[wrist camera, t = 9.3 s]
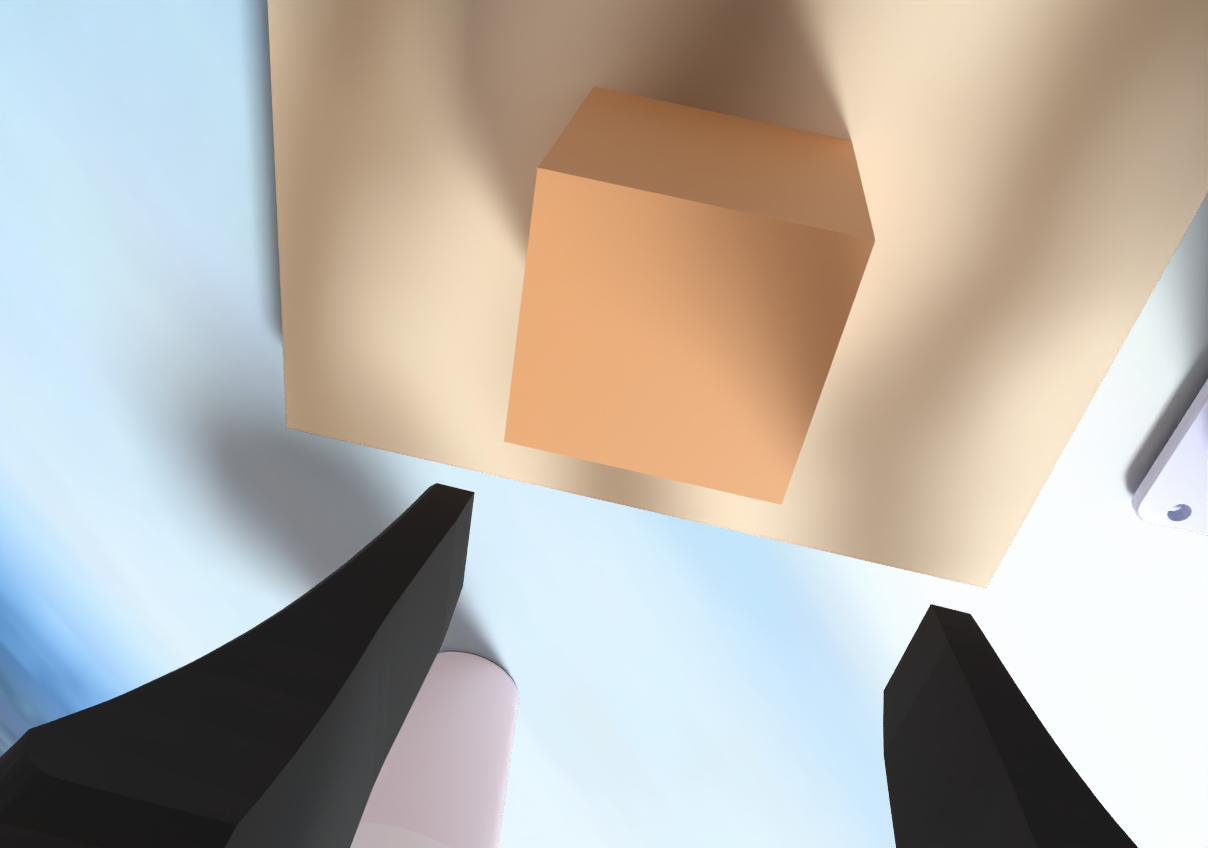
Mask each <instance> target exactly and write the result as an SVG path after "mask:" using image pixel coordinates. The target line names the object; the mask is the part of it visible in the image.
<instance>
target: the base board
mask: <svg viewBox="0 0 1208 848" xmlns="http://www.w3.org/2000/svg"><path fill="white" fill-rule="evenodd" d="M267 1H268V23H269V45H270V68H271V90H272V112H273V135H274V157H275V179H276V201H277V224H278V246H279V268H280V291H281V313H282V335H283V357H284V380H285V402H286V424H287V428H290V429H295V430H299V431H303V432H308V433H312V434H316V435H321V436H325V437H329V438H334V439H338V440H343V441H347V442H351V443H356V444H360V445H364V446H369V447H373V448H377V449H382V450H386V451H390V452H395V453H399V454H404V455H408V456H412V457H417V458H421V459H425V460H430V461H434V462H438V463H443V464H447V465H451V466H456V467H460V468H465V469H469V470H473V471H478V472H482V473H486V474H491V475H495V476H499V477H504V478H508V479H512V480H517V481H521V482H525V483H530V484H534V485H539V486H543V487H547V488H552V489H556V490H560V491H565V492H569V493H573V494H578V495H582V496H586V497H591V498H595V499H600V500H604V501H608V502H613V503H617V504H621V505H626V506H630V507H634V508H639V509H643V510H647V511H652V512H656V513H661V514H665V515H669V516H674V517H678V518H682V519H687V520H691V521H695V522H700V523H704V524H708V525H713V526H717V527H722V528H726V529H730V530H735V531H739V532H743V533H748V534H752V535H756V536H761V537H765V538H769V539H774V540H778V541H782V542H787V543H791V544H796V545H800V546H804V547H809V548H813V549H817V550H822V551H826V552H830V553H835V554H839V555H843V556H848V557H852V558H857V559H861V560H865V561H870V562H874V563H878V564H883V565H887V566H891V567H896V568H900V569H904V570H909V571H913V572H918V573H922V574H926V575H931V576H935V577H939V578H944V579H948V580H952V581H957V582H961V583H965V584H970V585H974V586H979V587H983V588H987V586H988V584H989V582H990V581H991V579H992V577H993V575H994V573H995V572H996V570H997V568H998V566H999V564H1000V563H1001V561H1002V559H1003V557H1004V556H1005V554H1006V552H1007V550H1008V548H1009V547H1010V545H1011V543H1012V541H1013V539H1014V538H1015V536H1016V534H1017V532H1018V531H1019V529H1020V527H1021V525H1022V523H1023V522H1024V520H1025V518H1026V516H1027V514H1028V513H1029V511H1030V509H1031V507H1032V506H1033V504H1034V502H1035V500H1036V498H1037V497H1038V495H1039V493H1040V491H1041V489H1042V488H1043V486H1044V484H1045V482H1046V481H1047V479H1048V477H1049V475H1050V473H1051V472H1052V470H1053V468H1054V466H1055V465H1056V463H1057V461H1058V459H1059V457H1060V456H1061V454H1062V452H1063V450H1064V448H1065V447H1066V445H1067V443H1068V441H1069V440H1070V438H1071V436H1072V434H1073V432H1074V431H1075V429H1076V427H1077V425H1078V423H1079V422H1080V420H1081V418H1082V416H1083V415H1084V413H1085V411H1086V409H1087V407H1088V406H1089V404H1090V402H1091V400H1092V398H1093V397H1094V395H1095V393H1096V391H1097V390H1098V388H1099V386H1100V384H1101V382H1102V381H1103V379H1104V377H1105V375H1106V373H1107V372H1108V370H1109V368H1110V366H1111V365H1112V363H1113V361H1114V359H1115V357H1116V356H1117V354H1118V352H1119V350H1120V348H1121V347H1122V345H1123V343H1124V341H1125V340H1126V338H1127V336H1128V334H1129V332H1130V331H1131V329H1132V327H1133V325H1134V323H1135V322H1136V320H1137V318H1138V316H1139V315H1140V313H1141V311H1142V309H1143V307H1144V306H1145V304H1146V302H1147V300H1148V298H1149V297H1150V295H1151V293H1152V291H1153V290H1154V288H1155V286H1156V284H1157V282H1158V281H1159V279H1160V277H1161V275H1162V274H1163V272H1164V270H1165V268H1166V266H1167V265H1168V263H1169V261H1170V259H1171V257H1172V256H1173V254H1174V252H1175V250H1176V249H1177V247H1178V245H1179V243H1180V241H1181V240H1182V238H1183V236H1184V234H1185V232H1186V231H1187V229H1188V227H1189V225H1190V224H1191V222H1192V220H1193V218H1194V216H1195V215H1196V213H1197V211H1198V209H1199V207H1200V206H1201V204H1202V202H1203V200H1204V199H1205V197H1206V195H1207V193H1208V0H267ZM593 87H599V88H604V89H609V90H613V91H618V92H623V93H627V94H632V95H637V96H642V97H646V98H651V99H656V100H661V101H665V102H670V103H675V104H680V105H684V106H689V107H694V108H699V109H703V110H708V111H713V112H717V113H722V114H727V115H732V116H736V117H741V118H746V119H751V120H755V121H760V122H765V123H770V124H774V125H779V126H784V127H789V128H793V129H798V130H803V131H808V132H812V133H817V134H822V135H826V136H831V137H836V138H841V139H845V140H850V141H852V144H853V148H854V152H855V156H856V161H857V165H858V169H859V173H860V177H861V182H862V186H863V190H864V194H865V198H866V203H867V207H868V211H869V215H870V219H871V224H872V228H873V232H874V236H875V243H874V246H873V249H872V252H871V254H870V257H869V260H868V263H867V266H866V269H865V271H864V274H863V277H862V280H861V283H860V285H859V288H858V291H857V294H856V297H855V300H854V302H853V305H852V308H851V311H850V314H849V316H848V319H847V322H846V325H845V328H844V330H843V333H842V336H841V339H840V342H839V345H838V347H837V350H836V353H835V356H834V359H833V361H832V364H831V367H830V370H829V373H828V376H827V378H826V381H825V384H824V387H823V390H822V392H821V395H820V398H819V401H818V404H817V406H816V409H815V412H814V415H813V418H812V421H811V423H810V426H809V429H808V432H807V435H806V437H805V440H804V443H803V446H802V449H801V451H800V454H799V457H798V460H797V463H796V466H795V468H794V471H793V474H792V477H791V480H790V482H789V485H788V488H787V491H786V494H785V497H784V499H783V502H782V505H780V504H776V503H771V502H767V501H762V500H758V499H754V498H749V497H745V496H740V495H736V494H732V493H727V492H723V491H719V490H714V489H710V488H705V487H701V486H697V485H692V484H688V483H683V482H679V481H675V480H670V479H666V478H661V477H657V476H653V475H648V474H644V473H640V472H635V471H631V470H626V469H622V468H618V467H613V466H609V465H604V464H600V463H596V462H591V461H587V460H582V459H578V458H574V457H569V456H565V455H561V454H556V453H552V452H547V451H543V450H539V449H534V448H530V447H525V446H521V445H517V444H512V443H508V442H504V436H505V428H506V420H507V412H508V404H509V396H510V387H511V379H512V371H513V363H514V355H515V347H516V339H517V330H518V322H519V314H520V306H521V298H522V290H523V282H524V273H525V265H526V257H527V249H528V241H529V233H530V225H531V216H532V208H533V200H534V192H535V184H536V176H537V168H538V166H539V165H540V163H541V162H542V160H543V159H544V158H545V156H546V155H547V153H548V152H549V150H550V149H551V148H552V146H553V145H554V143H555V142H556V140H557V139H558V138H559V136H560V135H561V133H562V132H563V130H564V129H565V128H566V126H567V125H568V123H569V122H570V120H571V119H572V117H573V116H574V115H575V113H576V112H577V110H578V109H579V107H580V106H581V105H582V103H583V102H584V100H585V99H586V97H587V96H588V95H589V93H590V92H591V90H592V89H593Z"/></svg>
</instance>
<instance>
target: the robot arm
mask: <svg viewBox="0 0 1208 848" xmlns="http://www.w3.org/2000/svg"><path fill="white" fill-rule="evenodd" d="M473 500H474V492H471V491H467V490H463V489H458V488H454V487H450V486H446V485H442V484H438V483H436V484H434V485H432V486H430V487H429V488H428V489H427V490H426V491H425V492H424V493H423V494H422V495H421V496H420V497H419V498H418V499H417V500H416V501H415V502H414V503H413V504H412V505H411V506H410V507H409V508H408V509H407V510H406V511H405V512H404V513H403V514H402V515H401V516H399V517H398V518H397V519H396V520H395V521H394V522H393V523H392V524H391V525H390V526H389V527H387V528H386V529H385V530H384V531H383V532H382V533H381V534H380V535H379V536H377V537H376V538H375V539H374V540H373V541H371V542H370V543H369V544H368V545H367V546H365V547H364V548H363V549H362V550H361V551H360V552H358V553H357V554H356V555H355V556H354V557H352V558H351V559H350V560H349V561H348V562H346V563H345V564H344V565H343V566H341V567H340V568H339V569H337V570H336V571H335V572H333V573H332V574H331V575H329V576H328V577H327V578H325V579H324V580H323V581H321V582H320V583H319V584H317V585H316V586H315V587H313V588H312V589H311V590H309V591H308V592H307V593H305V594H304V595H303V596H301V597H300V598H298V599H297V600H295V601H294V602H293V603H291V604H290V605H288V606H287V607H285V608H284V609H282V610H281V611H279V612H278V613H276V614H275V615H273V616H271V617H270V618H268V619H267V620H265V621H264V622H262V623H260V624H259V625H257V626H256V627H254V628H252V629H251V630H249V631H247V632H246V633H244V634H242V635H240V636H239V637H237V638H235V639H233V640H232V641H230V642H228V643H226V644H224V645H223V646H221V647H219V648H217V649H216V650H214V651H212V652H210V653H208V654H207V655H205V656H203V657H201V658H199V659H197V660H195V661H193V662H191V663H189V664H187V665H185V666H183V667H181V668H179V669H177V670H175V671H173V672H170V673H168V674H166V675H164V676H162V677H160V678H157V679H155V680H153V681H151V682H149V683H147V684H144V685H142V686H140V687H138V688H136V689H134V690H132V691H129V692H127V693H125V694H122V695H120V696H118V697H115V698H113V699H111V700H108V701H106V702H103V703H100V704H98V705H95V706H92V707H90V708H87V709H84V710H81V711H79V712H76V713H73V714H71V715H68V716H65V717H63V718H60V719H57V720H54V721H52V722H49V723H46V724H43V725H40V726H37V727H34V728H31V729H29V730H28V731H27V732H26V733H25V734H24V735H23V736H22V737H21V738H20V739H19V740H18V741H17V742H16V743H15V744H14V745H13V746H12V747H11V748H10V749H9V750H8V751H6V752H5V753H4V754H3V755H2V756H1V757H0V848H350V847H351V844H352V842H353V839H354V836H355V834H356V831H357V828H358V826H359V823H360V820H361V818H362V815H363V812H364V810H365V807H366V804H367V802H368V799H369V797H370V794H371V791H372V789H373V786H374V784H375V782H376V780H377V777H378V775H379V773H380V771H381V768H382V766H383V764H384V762H385V760H386V758H387V756H388V754H389V751H390V749H391V747H392V745H393V743H394V741H395V739H396V737H397V735H398V733H399V731H400V729H401V727H402V725H403V723H404V721H405V719H406V717H407V715H408V713H409V711H410V709H411V707H412V705H413V703H414V701H415V699H416V697H417V695H418V693H419V691H420V689H421V687H422V684H423V682H424V680H425V678H426V676H427V674H428V672H429V670H430V668H431V666H432V664H433V662H434V660H435V658H436V656H437V654H438V652H439V649H440V647H441V645H442V643H443V641H444V638H445V635H446V632H447V630H448V627H449V624H450V621H451V618H452V616H453V613H454V610H455V607H456V604H457V601H458V598H459V595H460V593H461V590H462V587H463V580H464V572H465V564H466V556H467V548H468V540H469V532H470V524H471V516H472V508H473ZM1178 504H1185V505H1184V506H1183V507H1182V508H1181V509H1179V510H1176V511H1168V510H1169V509H1170V508H1172V507H1173V506H1175V505H1178ZM1132 506H1133V509H1134V511H1135V513H1136V515H1137V516H1138V517H1139V518H1140V519H1141V520H1143V521H1146V522H1149V523H1153V524H1157V525H1162V526H1166V527H1171V528H1175V529H1180V530H1184V531H1189V532H1193V533H1197V534H1202V535H1206V536H1208V379H1207V381H1206V382H1205V384H1204V385H1203V387H1202V388H1201V390H1200V392H1199V393H1198V395H1197V396H1196V398H1195V399H1194V401H1193V403H1192V404H1191V406H1190V407H1189V409H1188V410H1187V412H1186V414H1185V415H1184V417H1183V418H1182V420H1181V421H1180V423H1179V425H1178V426H1177V428H1176V429H1175V431H1174V432H1173V434H1172V436H1171V437H1170V439H1169V440H1168V442H1167V443H1166V445H1165V447H1164V448H1163V450H1162V451H1161V453H1160V454H1159V456H1158V458H1157V459H1156V461H1155V462H1154V464H1153V465H1152V467H1151V469H1150V470H1149V472H1148V473H1147V475H1146V476H1145V478H1144V480H1143V481H1142V483H1141V484H1140V486H1139V487H1138V489H1137V490H1136V492H1135V494H1134V495H1133V498H1132ZM883 738H884V760H885V768H886V776H887V784H888V791H889V799H890V807H891V814H892V821H893V828H894V835H895V843H896V848H1138V847H1137V846H1136V845H1135V843H1134V842H1133V841H1132V840H1131V839H1130V838H1129V837H1128V835H1127V834H1126V833H1125V832H1124V831H1123V830H1122V828H1121V827H1120V826H1119V825H1118V824H1117V823H1116V821H1115V820H1114V819H1113V818H1112V817H1111V815H1110V814H1109V813H1108V812H1107V810H1106V809H1105V808H1104V807H1103V805H1102V804H1101V803H1100V802H1099V800H1098V799H1097V798H1096V797H1095V795H1094V794H1093V793H1092V791H1091V790H1090V789H1089V787H1088V786H1087V785H1086V783H1085V782H1084V781H1083V780H1082V778H1081V777H1080V776H1079V774H1078V773H1077V772H1076V770H1075V769H1074V768H1073V766H1072V765H1071V764H1070V762H1069V761H1068V760H1067V758H1066V757H1065V755H1064V754H1063V753H1062V751H1061V750H1060V748H1059V747H1058V746H1057V744H1056V743H1055V742H1054V740H1053V739H1052V737H1051V736H1050V734H1049V733H1048V732H1047V730H1046V729H1045V727H1044V726H1043V724H1042V723H1041V721H1040V720H1039V718H1038V717H1037V715H1036V714H1035V712H1034V711H1033V710H1032V708H1031V707H1030V705H1029V704H1028V702H1027V700H1026V699H1025V697H1024V696H1023V694H1022V693H1021V691H1020V690H1019V688H1018V687H1017V685H1016V684H1015V682H1014V681H1013V679H1012V678H1011V676H1010V674H1009V673H1008V671H1007V670H1006V668H1005V667H1004V665H1003V664H1002V662H1001V660H1000V659H999V657H998V656H997V654H996V653H995V651H994V649H993V648H992V646H991V645H990V643H989V642H988V640H987V638H986V637H985V635H984V634H983V632H982V631H981V629H980V628H979V626H978V625H977V623H976V622H975V620H974V619H973V617H972V616H971V614H968V613H964V612H960V611H956V610H952V609H948V608H944V607H940V606H936V605H932V604H931V605H930V607H929V609H928V610H927V612H926V614H925V616H924V618H923V620H922V621H921V623H920V625H919V627H918V629H917V631H916V632H915V634H914V636H913V638H912V640H911V642H910V643H909V645H908V647H907V649H906V651H905V653H904V655H903V656H902V658H901V660H900V662H899V664H898V666H897V667H896V669H895V671H894V673H893V675H892V677H891V678H890V680H889V682H888V684H887V686H886V688H885V689H884V710H883Z"/></svg>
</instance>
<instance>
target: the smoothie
mask: <svg viewBox="0 0 1208 848" xmlns="http://www.w3.org/2000/svg"><path fill="white" fill-rule="evenodd" d="M518 705H519V693H518V690H517V687H516V685H515V683H514V682H513V680H512V679H511V677H510V676H509V675H508V674H507V673H506V672H505V671H504V670H503V669H501V668H500V667H499V666H497V665H496V664H494V663H493V662H491V661H489V660H487V659H485V658H482V657H480V656H477V655H473V654H469V653H464V652H442V653H438V654H437V656H436V658H435V660H434V662H433V664H432V666H431V668H430V670H429V672H428V674H427V676H426V678H425V680H424V682H423V684H422V687H421V689H420V691H419V693H418V695H417V697H416V699H415V701H414V703H413V705H412V707H411V709H410V711H409V713H408V715H407V717H406V719H405V721H404V723H403V725H402V727H401V729H400V731H399V733H398V735H397V737H396V739H395V741H394V743H393V745H392V747H391V749H390V751H389V754H388V756H387V758H386V760H385V762H384V764H383V766H382V768H381V771H380V773H379V775H378V777H377V780H376V782H375V784H374V786H373V789H372V791H371V794H370V797H369V799H368V802H367V804H366V807H365V810H364V812H363V815H362V818H361V820H360V823H359V826H358V828H357V831H356V834H355V836H354V839H353V842H352V844H351V847H350V848H498V846H499V839H500V832H501V825H502V818H503V811H504V804H505V797H506V790H507V782H508V775H509V768H510V761H511V754H512V747H513V740H514V733H515V726H516V719H517V712H518Z"/></svg>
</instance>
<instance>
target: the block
mask: <svg viewBox="0 0 1208 848" xmlns="http://www.w3.org/2000/svg"><path fill="white" fill-rule="evenodd" d="M874 243H875V236H874V232H873V228H872V224H871V219H870V215H869V211H868V207H867V203H866V198H865V194H864V190H863V186H862V182H861V177H860V173H859V169H858V165H857V161H856V156H855V152H854V148H853V144H852V141H850V140H845V139H841V138H836V137H831V136H826V135H822V134H817V133H812V132H808V131H803V130H798V129H793V128H789V127H784V126H779V125H774V124H770V123H765V122H760V121H755V120H751V119H746V118H741V117H736V116H732V115H727V114H722V113H717V112H713V111H708V110H703V109H699V108H694V107H689V106H684V105H680V104H675V103H670V102H665V101H661V100H656V99H651V98H646V97H642V96H637V95H632V94H627V93H623V92H618V91H613V90H609V89H604V88H599V87H593V89H592V90H591V92H590V93H589V95H588V96H587V97H586V99H585V100H584V102H583V103H582V105H581V106H580V107H579V109H578V110H577V112H576V113H575V115H574V116H573V117H572V119H571V120H570V122H569V123H568V125H567V126H566V128H565V129H564V130H563V132H562V133H561V135H560V136H559V138H558V139H557V140H556V142H555V143H554V145H553V146H552V148H551V149H550V150H549V152H548V153H547V155H546V156H545V158H544V159H543V160H542V162H541V163H540V165H539V166H538V168H537V176H536V184H535V192H534V200H533V208H532V216H531V225H530V233H529V241H528V249H527V257H526V265H525V273H524V282H523V290H522V298H521V306H520V314H519V322H518V330H517V339H516V347H515V355H514V363H513V371H512V379H511V387H510V396H509V404H508V412H507V420H506V428H505V436H504V442H508V443H512V444H517V445H521V446H525V447H530V448H534V449H539V450H543V451H547V452H552V453H556V454H561V455H565V456H569V457H574V458H578V459H582V460H587V461H591V462H596V463H600V464H604V465H609V466H613V467H618V468H622V469H626V470H631V471H635V472H640V473H644V474H648V475H653V476H657V477H661V478H666V479H670V480H675V481H679V482H683V483H688V484H692V485H697V486H701V487H705V488H710V489H714V490H719V491H723V492H727V493H732V494H736V495H740V496H745V497H749V498H754V499H758V500H762V501H767V502H771V503H776V504H780V505H782V502H783V499H784V497H785V494H786V491H787V488H788V485H789V482H790V480H791V477H792V474H793V471H794V468H795V466H796V463H797V460H798V457H799V454H800V451H801V449H802V446H803V443H804V440H805V437H806V435H807V432H808V429H809V426H810V423H811V421H812V418H813V415H814V412H815V409H816V406H817V404H818V401H819V398H820V395H821V392H822V390H823V387H824V384H825V381H826V378H827V376H828V373H829V370H830V367H831V364H832V361H833V359H834V356H835V353H836V350H837V347H838V345H839V342H840V339H841V336H842V333H843V330H844V328H845V325H846V322H847V319H848V316H849V314H850V311H851V308H852V305H853V302H854V300H855V297H856V294H857V291H858V288H859V285H860V283H861V280H862V277H863V274H864V271H865V269H866V266H867V263H868V260H869V257H870V254H871V252H872V249H873V246H874Z"/></svg>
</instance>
